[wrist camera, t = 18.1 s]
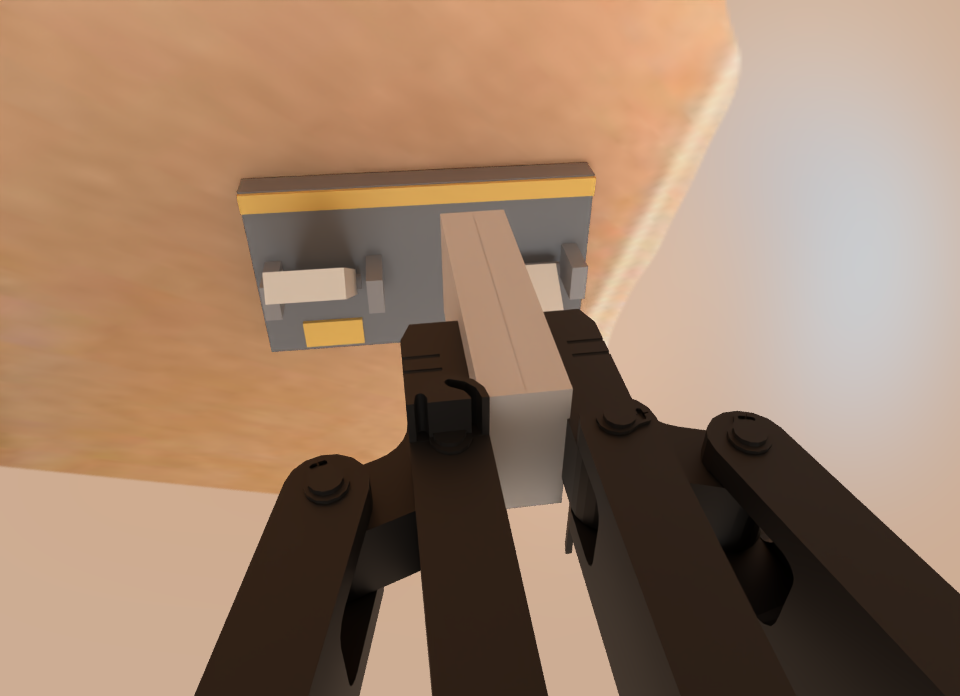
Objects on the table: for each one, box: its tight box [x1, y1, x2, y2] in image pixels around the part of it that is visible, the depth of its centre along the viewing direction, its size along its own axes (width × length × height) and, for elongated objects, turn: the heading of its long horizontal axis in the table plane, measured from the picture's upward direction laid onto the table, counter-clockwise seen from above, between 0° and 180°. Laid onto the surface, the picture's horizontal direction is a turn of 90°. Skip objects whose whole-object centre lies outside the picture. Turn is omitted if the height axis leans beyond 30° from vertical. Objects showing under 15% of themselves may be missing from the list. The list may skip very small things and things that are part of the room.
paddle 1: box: [262, 268, 362, 305], centre depth 40 cm, size 5×2×10 cm
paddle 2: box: [525, 261, 564, 312], centre depth 45 cm, size 5×2×10 cm
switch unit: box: [237, 162, 596, 352], centre depth 46 cm, size 22×12×5 cm, turn 90°
